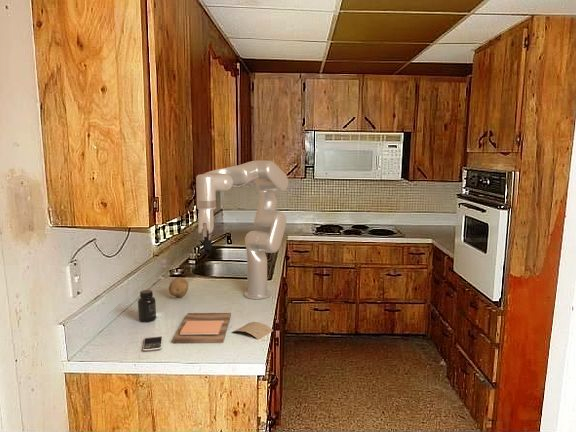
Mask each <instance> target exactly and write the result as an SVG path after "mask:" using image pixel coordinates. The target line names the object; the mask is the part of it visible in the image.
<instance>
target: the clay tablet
mask: <svg viewBox="0 0 576 432" xmlns="http://www.w3.org/2000/svg"><path fill="white" fill-rule="evenodd" d="M233 332H234V333H235V332H243V333H244V332H246V334H247V333H248V334H250V335H252V336H253V337H255V338H256V340H261V339H263V338H264V337H265V336H267V335H269V334H270V333H273V332H274V329H273V328H272V327H271V326H269V325H268V324H264V323H261V322H259V321H252V322H248V323H246V324H245V325H243V326H241V327H239V328H237V329H235V330H233V331H232V333H233Z"/></svg>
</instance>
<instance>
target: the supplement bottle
mask: <svg viewBox="0 0 576 432" xmlns="http://www.w3.org/2000/svg"><path fill="white" fill-rule="evenodd" d="M153 295H154V294H153V290H152V289H145V290H141V291H140V292H139V297H140V298H138V300H137V313H138V321H139V322H140V323H150V322H151V323H152V322H154V321H155V320H156V319H157V309H156V307H157V306H156V305H157V304H156V298H155V297H154V296H153Z"/></svg>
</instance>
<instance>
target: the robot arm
mask: <svg viewBox="0 0 576 432" xmlns="http://www.w3.org/2000/svg"><path fill="white" fill-rule="evenodd" d="M195 180H196V181H195V183H196V184H195V187H196V210H198V221H197V222H198V226H197V227H198V229H197V230H198V232H197V233H198V234H200V235H201V234H202V250H204V251H211V250H212V246H213V245H212V232H213V231H214V227H215V226H214V219H215V218H214V210H216V208H217V204H216V203H217V202H216V201H217V199H216V198H217V196H216V195H217V194H216V192H227V191H229V190H231V188H232V187H233V186H238V185H245V184H247V183H250V182H253V181H254V180H255V186H256V189H257V191H258V194H259V201H258V206H257V209H256V212H255V216H254V220H253V225H254V226H255V228H257V229H259V230H251V231H248V233H246V235H245V238H244V244H245V251H246V258H247V259H246V260H247V261H246V262H247V263H246V264H247V265H246V267H247V271H246V273H247V274H246V275H247V290H246V291H244V293H243V294H244V297H245V298H246V299H250V300H251V299H252V300H262V299H267V298H269V297H270V296H271V292H270V291H269V289H268V258H267V255H266V253H268V254H274V253H277V252H278V251H279V250H280V247H281V244H282V240H283V237H284V234H285V230H286V226H287V218H286V217H287V216H286V215H285V214H284V212H282V211H279V210H276V209H277V204H278V201H277V197H276V195H275V192H284V191H286V190H287V188H289V178H288V176H287V174H286V173H285V172H284V171H283V170H282V169H281V168H280V167H279V166H278V165H277V164H276V163H275V162H274V161H272V160H261V159H258V160H252V161H247V162H245V163H242V164H238V165H234V166H233V165H232V166H229V167H224V168H217V169H214V170H210V171H207V172H204V173H202V174H197V175H196V178H195ZM263 230H266V231H263Z"/></svg>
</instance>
